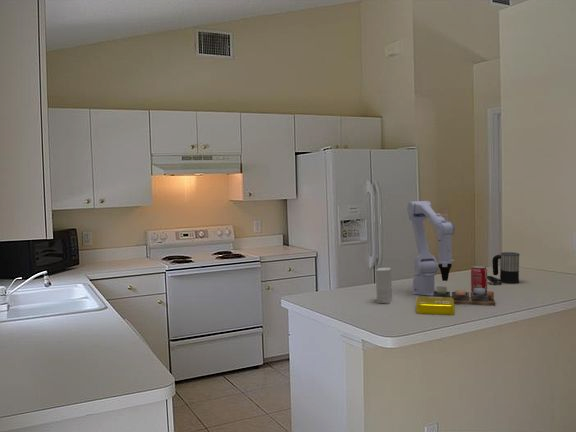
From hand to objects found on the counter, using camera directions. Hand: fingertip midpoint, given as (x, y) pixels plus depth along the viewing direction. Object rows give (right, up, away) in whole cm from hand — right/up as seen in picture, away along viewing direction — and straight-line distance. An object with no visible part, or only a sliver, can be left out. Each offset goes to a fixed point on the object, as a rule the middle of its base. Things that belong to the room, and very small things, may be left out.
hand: (444, 280), depth 248 cm
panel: (+7, -9, 0) cm, 12 cm away
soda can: (+20, -8, +14) cm, 25 cm away
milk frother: (+40, -6, +38) cm, 55 cm away
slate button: (+15, -6, -2) cm, 16 cm away
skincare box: (-26, -10, +4) cm, 28 cm away
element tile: (-8, -11, -13) cm, 19 cm away
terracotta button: (+7, -8, 0) cm, 10 cm away
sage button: (-1, -6, +2) cm, 7 cm away
